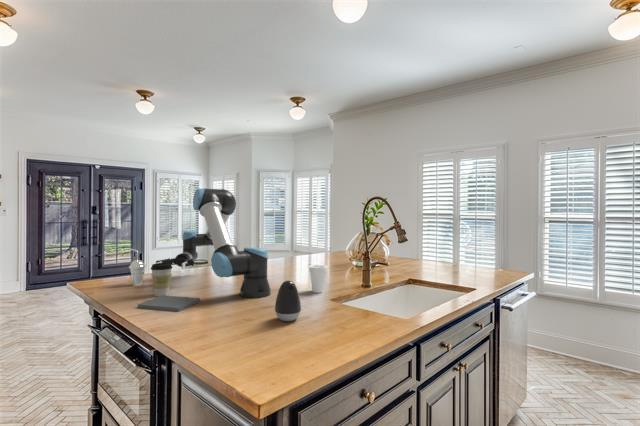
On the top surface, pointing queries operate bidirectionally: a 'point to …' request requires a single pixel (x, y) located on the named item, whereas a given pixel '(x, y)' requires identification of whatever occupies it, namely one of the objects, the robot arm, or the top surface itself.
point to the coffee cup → (161, 278)
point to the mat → (169, 303)
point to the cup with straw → (137, 270)
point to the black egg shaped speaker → (287, 302)
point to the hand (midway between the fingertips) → (169, 266)
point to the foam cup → (318, 277)
